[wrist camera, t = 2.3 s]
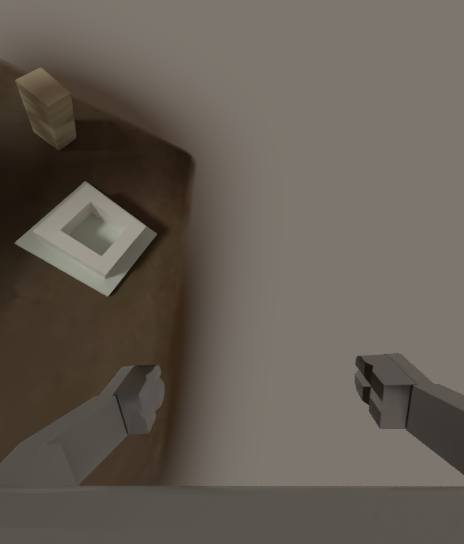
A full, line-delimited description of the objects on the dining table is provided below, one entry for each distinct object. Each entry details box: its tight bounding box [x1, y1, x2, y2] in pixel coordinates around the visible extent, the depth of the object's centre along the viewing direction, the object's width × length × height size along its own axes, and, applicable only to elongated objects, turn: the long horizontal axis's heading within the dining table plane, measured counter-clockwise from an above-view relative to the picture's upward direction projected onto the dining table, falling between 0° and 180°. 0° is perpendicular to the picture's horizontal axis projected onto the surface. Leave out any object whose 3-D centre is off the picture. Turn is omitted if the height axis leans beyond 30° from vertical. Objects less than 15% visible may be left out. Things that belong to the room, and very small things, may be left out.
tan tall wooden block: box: [15, 68, 77, 151], centre depth 32 cm, size 4×4×9 cm
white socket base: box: [15, 181, 157, 297], centre depth 34 cm, size 14×14×6 cm
